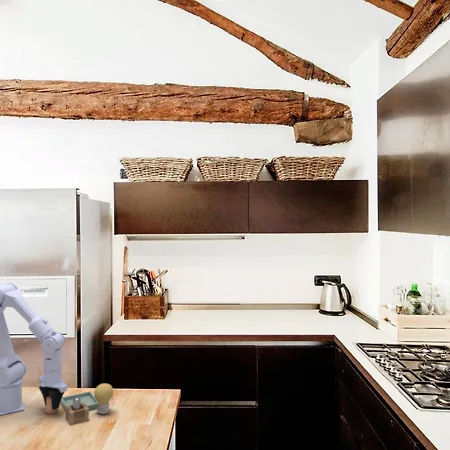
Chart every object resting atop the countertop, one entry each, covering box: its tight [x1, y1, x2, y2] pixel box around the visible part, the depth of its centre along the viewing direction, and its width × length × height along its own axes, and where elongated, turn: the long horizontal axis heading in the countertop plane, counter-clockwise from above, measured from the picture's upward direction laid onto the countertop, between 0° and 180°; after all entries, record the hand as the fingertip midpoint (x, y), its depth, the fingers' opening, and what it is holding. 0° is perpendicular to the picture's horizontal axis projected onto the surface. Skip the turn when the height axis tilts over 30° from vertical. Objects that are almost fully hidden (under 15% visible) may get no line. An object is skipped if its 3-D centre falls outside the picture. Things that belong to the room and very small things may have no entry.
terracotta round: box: [45, 396, 59, 415], centre depth 145 cm, size 4×4×5 cm
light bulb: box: [93, 383, 114, 415], centre depth 145 cm, size 6×6×10 cm
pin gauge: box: [73, 397, 81, 411], centre depth 140 cm, size 2×2×7 cm
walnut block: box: [65, 402, 90, 426], centre depth 140 cm, size 6×6×4 cm
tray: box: [60, 390, 99, 412], centre depth 151 cm, size 12×11×2 cm
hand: (52, 407), depth 145 cm, fingers closed on terracotta round, 4 cm apart
